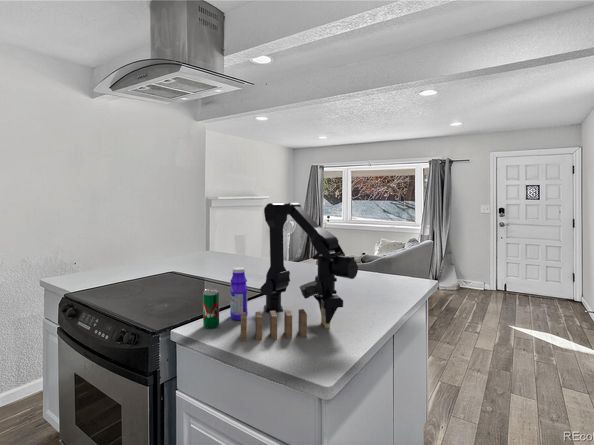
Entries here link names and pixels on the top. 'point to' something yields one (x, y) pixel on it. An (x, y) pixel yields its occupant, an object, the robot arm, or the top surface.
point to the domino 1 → (243, 326)
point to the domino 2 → (258, 325)
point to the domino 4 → (288, 323)
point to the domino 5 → (302, 323)
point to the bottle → (238, 293)
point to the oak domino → (324, 319)
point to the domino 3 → (273, 324)
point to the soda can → (210, 308)
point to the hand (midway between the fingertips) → (325, 320)
